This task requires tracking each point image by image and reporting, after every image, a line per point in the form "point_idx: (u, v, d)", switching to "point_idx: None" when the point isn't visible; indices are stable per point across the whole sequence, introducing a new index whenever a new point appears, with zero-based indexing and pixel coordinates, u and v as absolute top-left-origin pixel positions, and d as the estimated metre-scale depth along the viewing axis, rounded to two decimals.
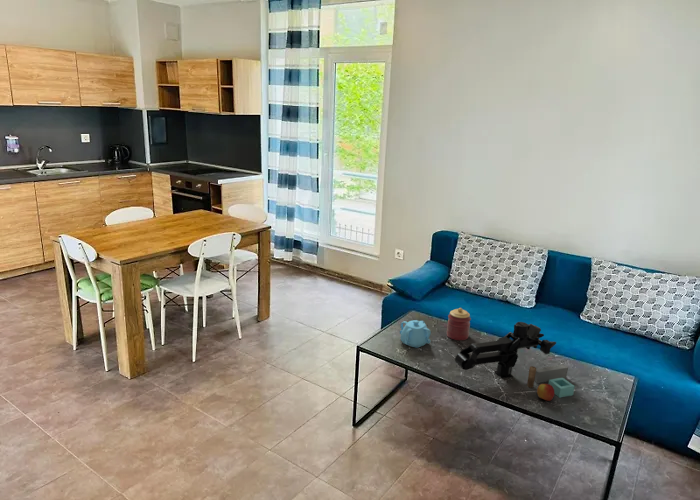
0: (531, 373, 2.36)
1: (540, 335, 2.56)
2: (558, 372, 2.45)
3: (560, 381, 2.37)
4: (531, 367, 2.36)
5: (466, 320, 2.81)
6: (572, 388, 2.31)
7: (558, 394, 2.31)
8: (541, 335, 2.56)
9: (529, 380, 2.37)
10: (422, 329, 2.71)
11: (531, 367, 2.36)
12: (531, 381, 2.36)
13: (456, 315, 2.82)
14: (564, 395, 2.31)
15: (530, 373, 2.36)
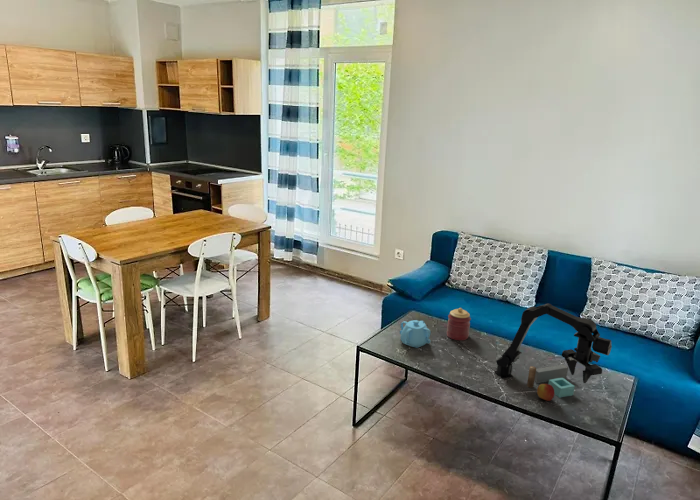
0: (531, 373, 2.36)
1: (573, 370, 2.26)
2: (558, 372, 2.45)
3: (560, 381, 2.37)
4: (531, 367, 2.36)
5: (466, 320, 2.81)
6: (572, 388, 2.31)
7: (558, 394, 2.31)
8: (573, 371, 2.27)
9: (529, 380, 2.37)
10: (422, 329, 2.71)
11: (531, 367, 2.36)
12: (531, 381, 2.36)
13: (456, 315, 2.82)
14: (564, 395, 2.31)
15: (530, 373, 2.36)
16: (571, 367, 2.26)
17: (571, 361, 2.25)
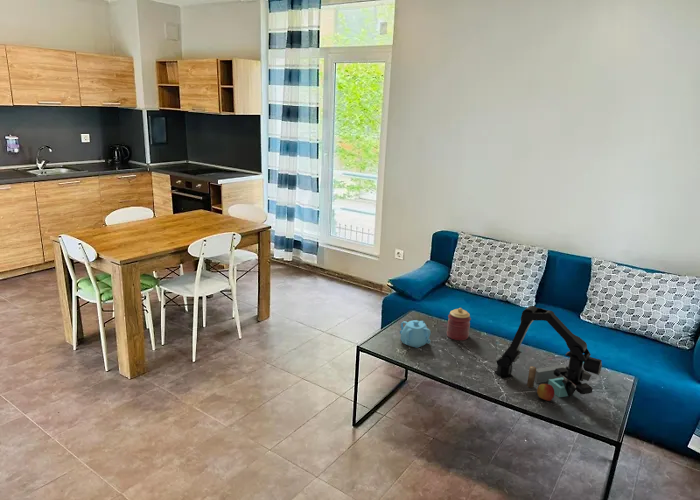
0: (531, 373, 2.36)
1: None
2: None
3: (560, 381, 2.37)
4: (531, 367, 2.36)
5: (466, 320, 2.81)
6: None
7: (558, 394, 2.31)
8: None
9: (529, 380, 2.37)
10: (422, 329, 2.71)
11: (531, 367, 2.36)
12: (531, 381, 2.36)
13: (456, 315, 2.82)
14: (564, 395, 2.31)
15: (530, 373, 2.36)
16: None
17: (568, 383, 2.28)
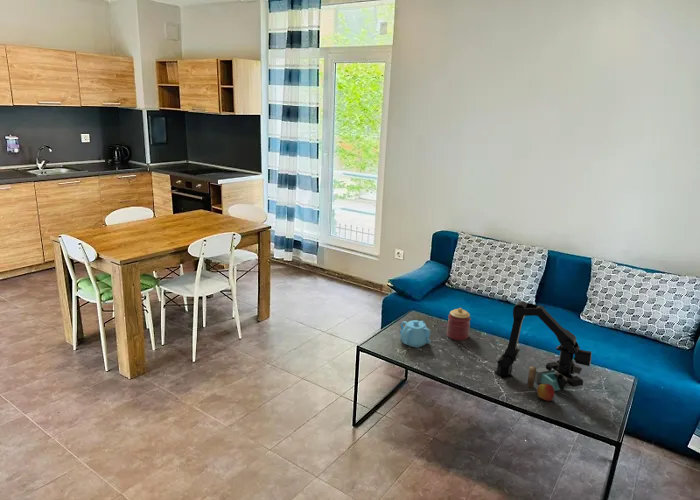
0: (531, 373, 2.36)
1: None
2: None
3: (552, 375, 2.42)
4: (531, 367, 2.36)
5: (466, 320, 2.81)
6: None
7: None
8: None
9: (529, 380, 2.37)
10: (422, 329, 2.71)
11: (531, 367, 2.36)
12: (531, 381, 2.36)
13: (456, 315, 2.82)
14: (556, 388, 2.36)
15: (530, 373, 2.36)
16: None
17: (560, 377, 2.33)
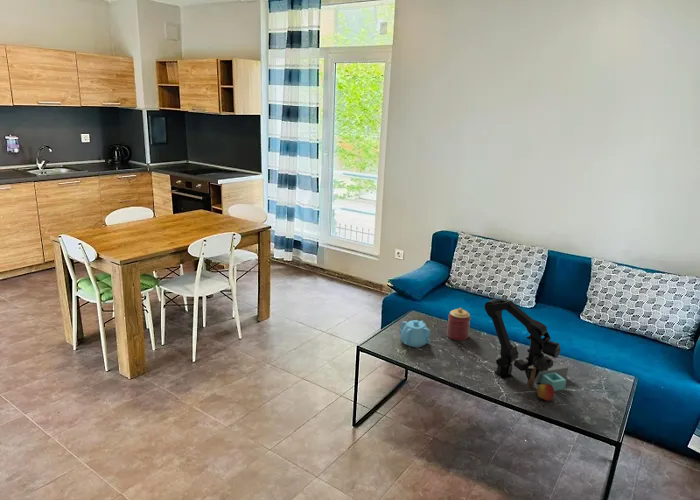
0: (531, 373, 2.36)
1: None
2: (558, 372, 2.45)
3: (552, 375, 2.42)
4: None
5: (466, 320, 2.81)
6: (564, 382, 2.36)
7: None
8: None
9: (529, 380, 2.37)
10: (422, 329, 2.71)
11: None
12: (531, 381, 2.36)
13: (456, 315, 2.82)
14: (556, 389, 2.36)
15: None
16: None
17: (535, 364, 2.38)
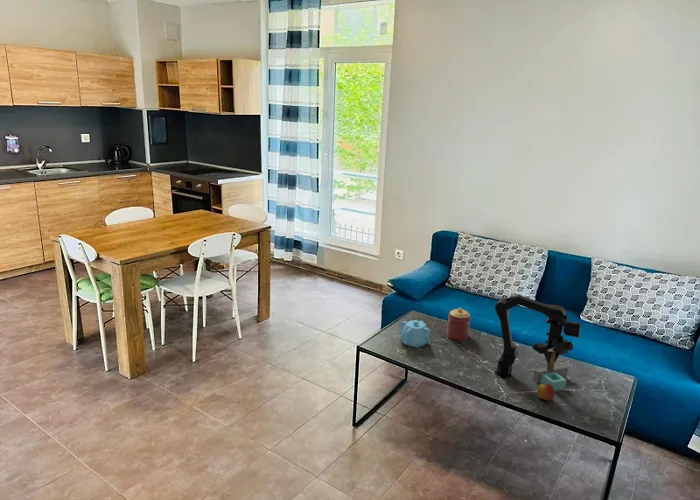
0: (551, 356, 2.34)
1: None
2: (558, 372, 2.45)
3: (552, 375, 2.42)
4: (551, 350, 2.34)
5: (466, 320, 2.81)
6: (564, 382, 2.36)
7: None
8: None
9: (549, 364, 2.35)
10: (422, 329, 2.71)
11: None
12: (551, 364, 2.34)
13: (456, 315, 2.82)
14: (556, 389, 2.36)
15: (550, 357, 2.34)
16: None
17: (554, 348, 2.36)
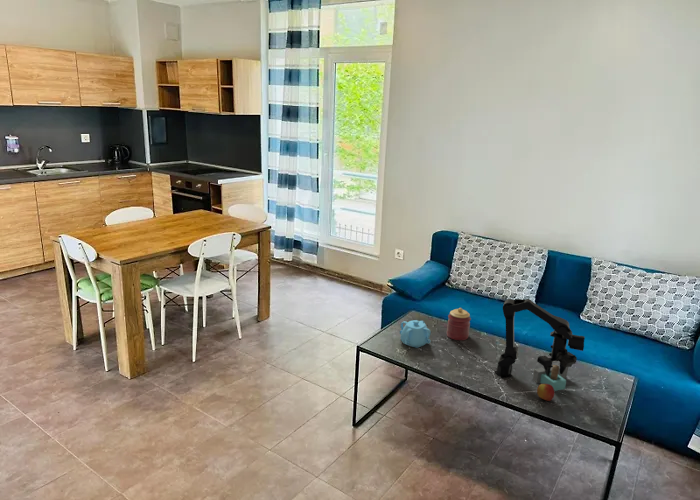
0: (554, 371, 2.36)
1: (561, 370, 2.39)
2: (558, 372, 2.45)
3: None
4: (554, 366, 2.37)
5: (466, 320, 2.81)
6: (564, 382, 2.36)
7: None
8: (561, 371, 2.39)
9: (552, 379, 2.38)
10: (422, 329, 2.71)
11: (553, 366, 2.37)
12: (554, 379, 2.37)
13: (456, 315, 2.82)
14: (556, 389, 2.36)
15: (553, 372, 2.37)
16: (560, 365, 2.40)
17: None
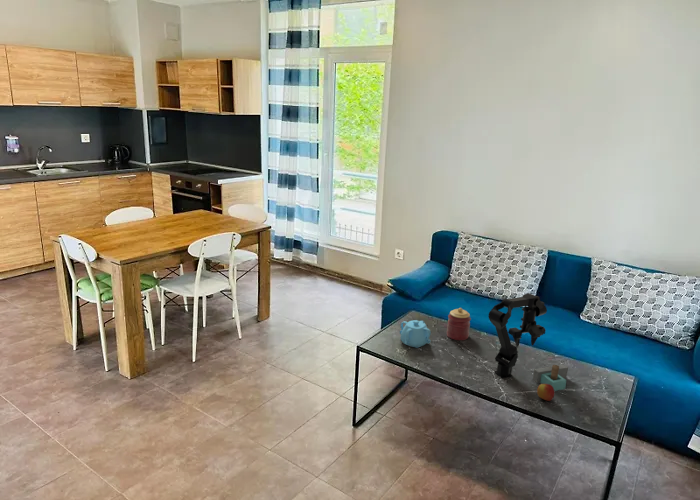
0: (554, 371, 2.36)
1: (532, 341, 2.54)
2: (558, 372, 2.45)
3: None
4: (554, 365, 2.37)
5: (466, 320, 2.81)
6: (564, 382, 2.36)
7: None
8: (532, 342, 2.55)
9: (552, 378, 2.38)
10: (422, 329, 2.71)
11: (553, 366, 2.37)
12: (554, 379, 2.37)
13: (456, 315, 2.82)
14: (556, 389, 2.36)
15: (553, 372, 2.37)
16: (531, 337, 2.55)
17: None
